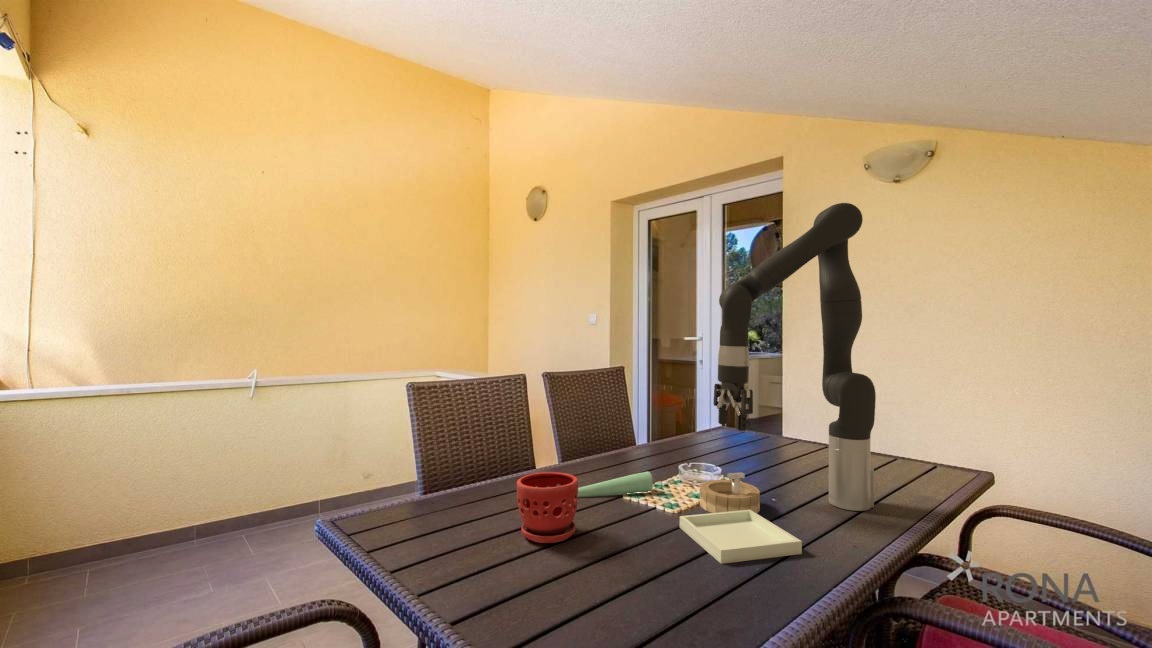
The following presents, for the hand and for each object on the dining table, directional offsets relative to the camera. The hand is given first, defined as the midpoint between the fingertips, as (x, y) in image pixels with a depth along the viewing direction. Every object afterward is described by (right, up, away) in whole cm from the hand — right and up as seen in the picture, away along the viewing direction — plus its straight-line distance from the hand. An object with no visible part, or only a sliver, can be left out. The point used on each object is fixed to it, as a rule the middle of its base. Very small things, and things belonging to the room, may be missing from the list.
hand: (731, 427), depth 129 cm
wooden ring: (-2, -19, -4) cm, 19 cm away
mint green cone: (-33, -19, +5) cm, 39 cm away
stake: (-1, -19, -7) cm, 20 cm away
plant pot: (-46, -19, -21) cm, 54 cm away
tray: (-6, -19, -24) cm, 31 cm away
